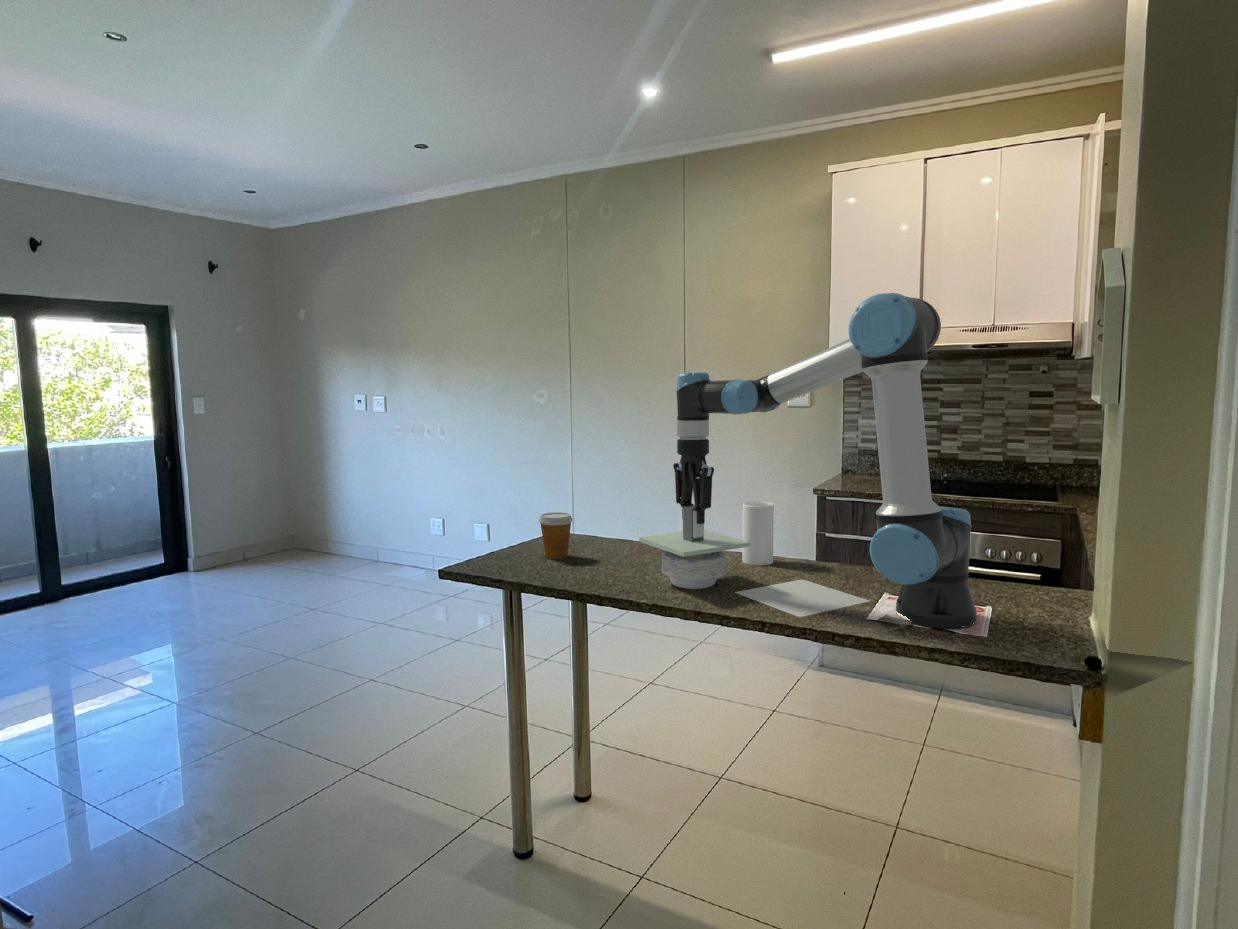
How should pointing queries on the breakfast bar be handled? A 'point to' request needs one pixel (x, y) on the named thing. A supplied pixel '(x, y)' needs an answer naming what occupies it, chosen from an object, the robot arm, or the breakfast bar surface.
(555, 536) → the disposable coffee cup
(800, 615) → the mat
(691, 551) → the cover
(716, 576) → the paper bowls
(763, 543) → the cup
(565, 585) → the breakfast bar surface
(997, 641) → the breakfast bar surface
